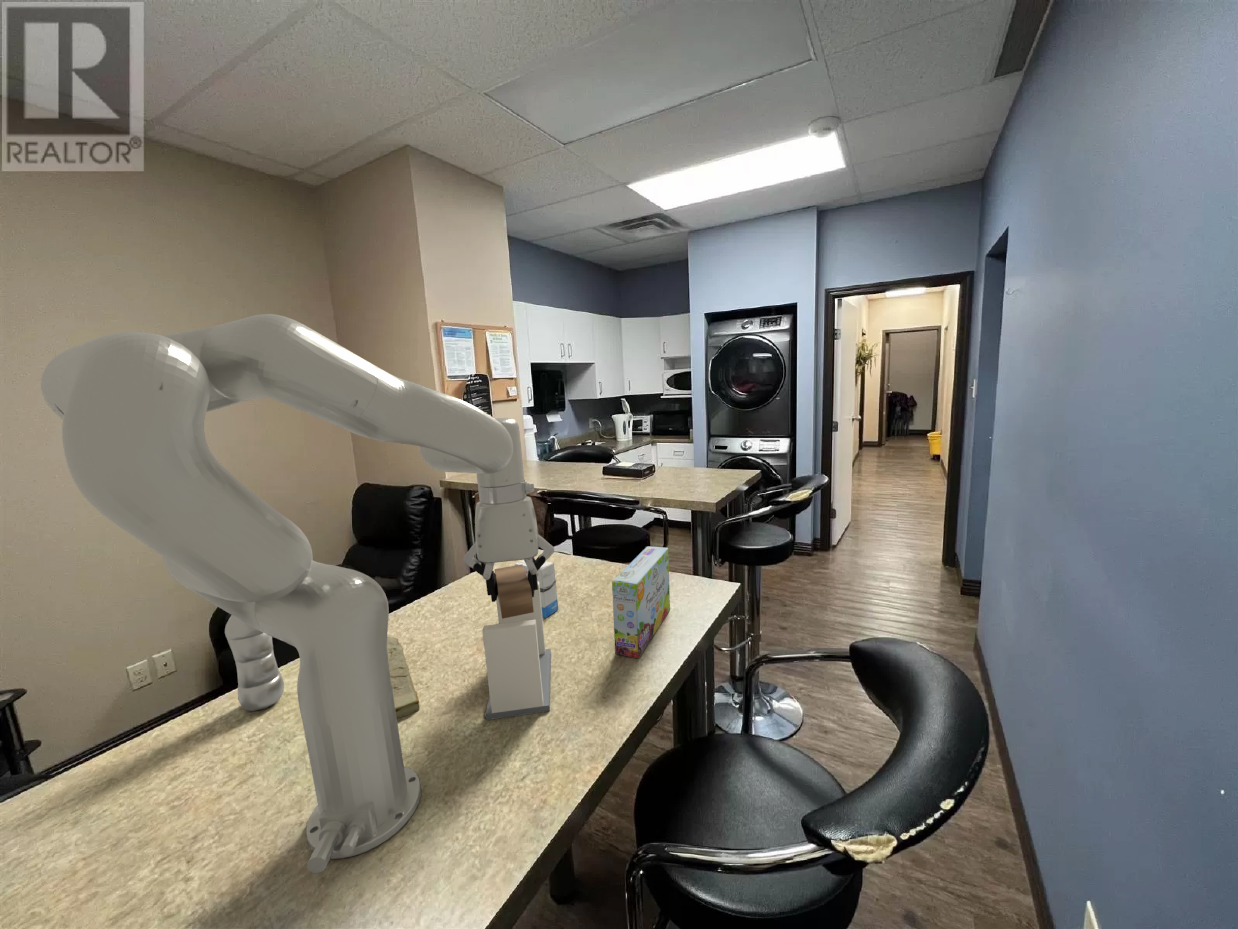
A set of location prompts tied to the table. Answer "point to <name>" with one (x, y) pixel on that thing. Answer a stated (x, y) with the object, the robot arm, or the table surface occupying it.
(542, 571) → the ink box
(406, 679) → the stone slab
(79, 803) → the table surface
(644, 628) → the snack box
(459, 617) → the table surface
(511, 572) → the brown wooden block
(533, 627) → the stand
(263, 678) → the plastic bottle
